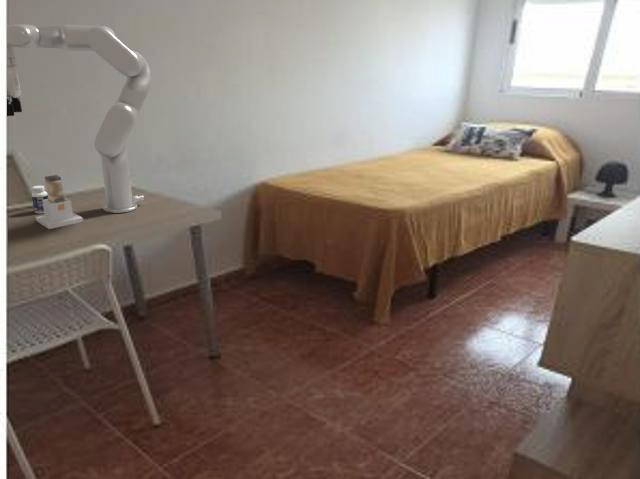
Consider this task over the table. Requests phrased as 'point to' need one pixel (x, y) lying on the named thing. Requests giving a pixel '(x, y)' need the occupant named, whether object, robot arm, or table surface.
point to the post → (54, 188)
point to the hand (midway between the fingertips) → (13, 113)
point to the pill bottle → (38, 198)
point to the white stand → (58, 214)
